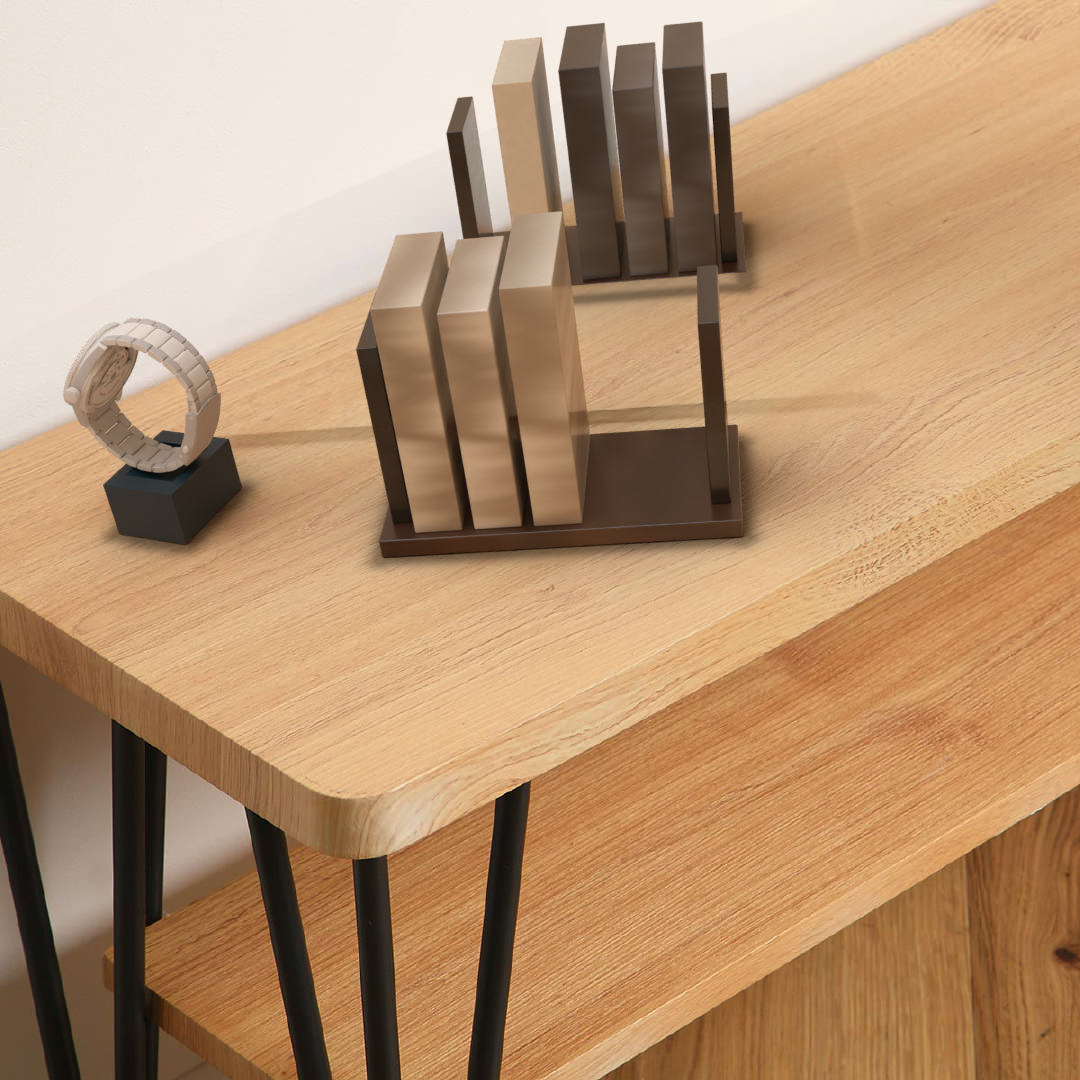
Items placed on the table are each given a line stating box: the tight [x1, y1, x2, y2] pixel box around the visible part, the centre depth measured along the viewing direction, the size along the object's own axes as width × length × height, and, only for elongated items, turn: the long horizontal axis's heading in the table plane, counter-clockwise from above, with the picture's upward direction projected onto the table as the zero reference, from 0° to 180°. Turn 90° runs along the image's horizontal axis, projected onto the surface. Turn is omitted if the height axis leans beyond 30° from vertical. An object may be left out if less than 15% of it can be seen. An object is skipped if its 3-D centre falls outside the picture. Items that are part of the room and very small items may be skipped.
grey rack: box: [445, 21, 747, 287], centre depth 101 cm, size 18×9×14 cm, turn 86°
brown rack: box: [355, 211, 744, 558], centre depth 80 cm, size 18×9×14 cm, turn 86°
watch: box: [62, 317, 243, 545], centre depth 84 cm, size 6×8×11 cm
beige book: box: [491, 36, 566, 228], centre depth 102 cm, size 2×8×13 cm, turn 176°
